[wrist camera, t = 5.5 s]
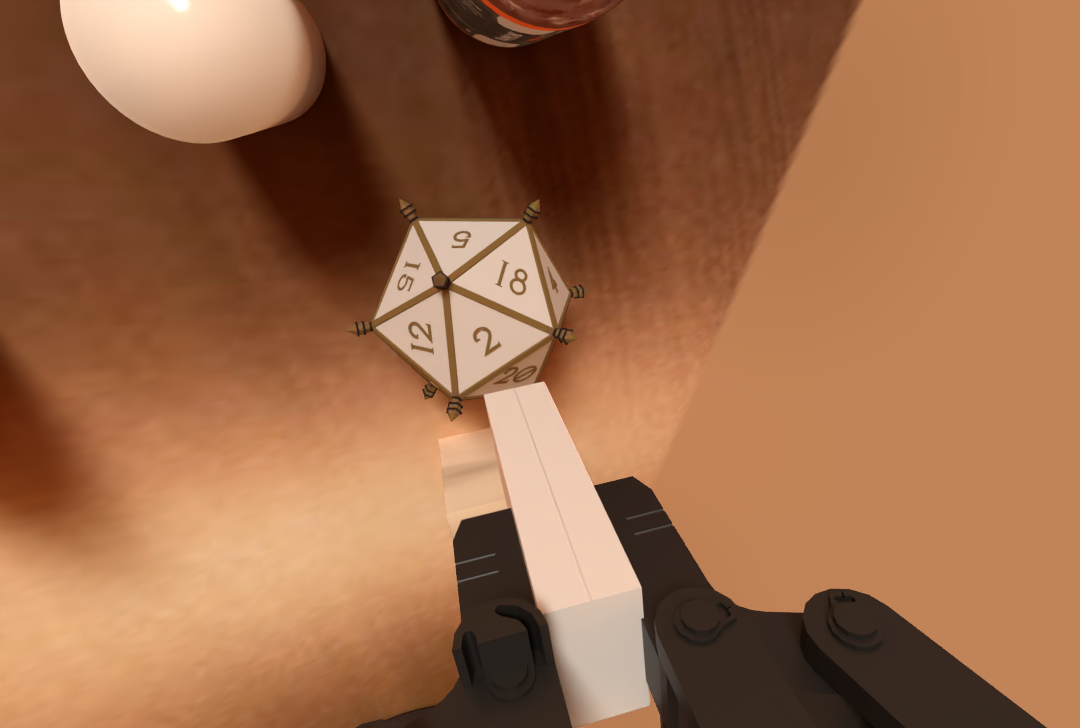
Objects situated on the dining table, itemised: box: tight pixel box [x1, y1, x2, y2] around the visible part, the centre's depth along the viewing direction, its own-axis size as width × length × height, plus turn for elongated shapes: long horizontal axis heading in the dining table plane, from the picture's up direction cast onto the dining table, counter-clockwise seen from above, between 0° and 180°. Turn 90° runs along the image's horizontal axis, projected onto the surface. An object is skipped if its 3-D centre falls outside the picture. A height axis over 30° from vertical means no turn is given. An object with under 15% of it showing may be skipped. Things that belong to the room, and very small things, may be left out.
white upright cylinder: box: [60, 0, 326, 143], centre depth 18 cm, size 5×5×8 cm
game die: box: [346, 199, 589, 422], centre depth 23 cm, size 9×8×10 cm
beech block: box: [439, 428, 508, 539], centre depth 29 cm, size 6×6×6 cm
